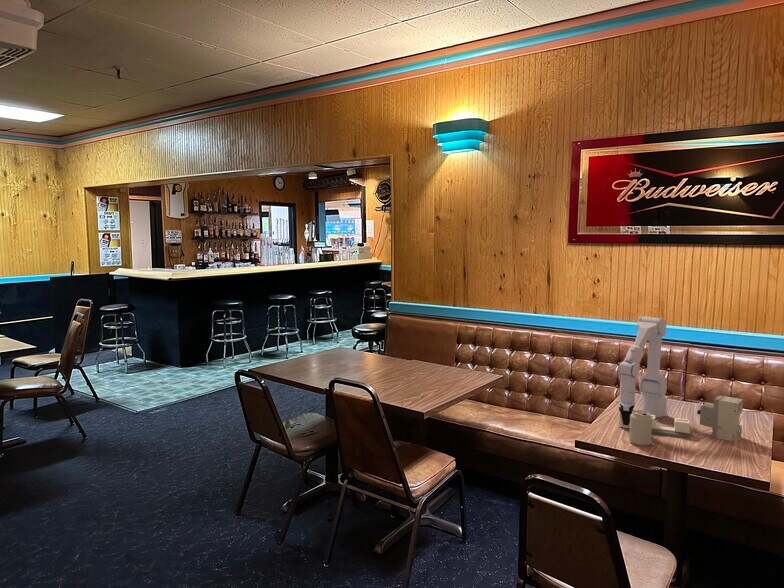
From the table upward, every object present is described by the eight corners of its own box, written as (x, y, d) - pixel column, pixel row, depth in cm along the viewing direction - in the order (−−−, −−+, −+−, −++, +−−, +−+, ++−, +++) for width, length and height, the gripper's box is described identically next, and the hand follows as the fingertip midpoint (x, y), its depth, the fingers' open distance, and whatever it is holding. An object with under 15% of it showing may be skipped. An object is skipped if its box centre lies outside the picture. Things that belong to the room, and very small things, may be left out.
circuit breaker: (700, 428, 214) (702, 392, 213) (741, 437, 204) (743, 399, 203) (694, 432, 209) (696, 395, 208) (736, 442, 199) (738, 403, 197)
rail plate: (639, 431, 210) (639, 418, 210) (639, 424, 218) (640, 411, 218) (690, 438, 202) (691, 424, 202) (689, 431, 210) (690, 417, 210)
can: (652, 448, 193) (653, 416, 192) (629, 445, 196) (631, 414, 195) (649, 441, 200) (651, 410, 199) (628, 438, 203) (629, 408, 202)
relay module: (619, 427, 215) (619, 412, 215) (619, 423, 219) (620, 409, 219) (632, 429, 213) (633, 414, 213) (633, 425, 217) (633, 411, 217)
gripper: (618, 385, 223) (616, 416, 224) (615, 394, 210) (614, 427, 212) (636, 387, 220) (635, 418, 221) (635, 396, 207) (633, 429, 208)
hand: (626, 423), depth 216 cm, fingers closed on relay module, 4 cm apart
